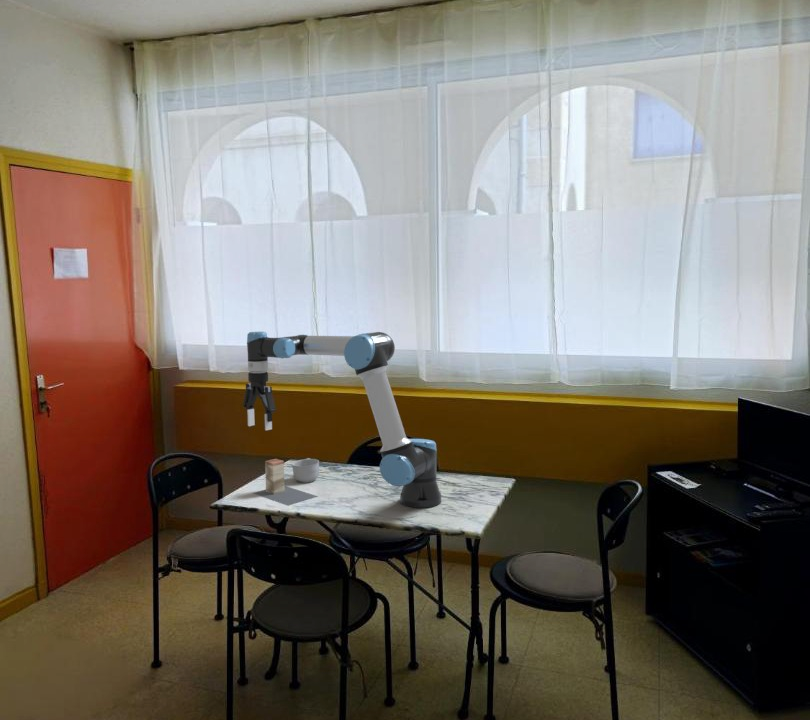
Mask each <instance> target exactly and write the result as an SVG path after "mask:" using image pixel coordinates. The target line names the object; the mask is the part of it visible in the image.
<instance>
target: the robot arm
mask: <svg viewBox="0 0 810 720" xmlns="http://www.w3.org/2000/svg"><path fill="white" fill-rule="evenodd" d="M246 337H247V338H246V346H247V348H246V349H247V363H248V364H247V369H248V373H247V375H248V376H247V377H248V383H246V384H245V391H244V392H245V393H244V398H243V404H242V407H243V408H245V410H246V416H247V426H248V427H252V426H256V424H255V423H256V422H255V407H254V405H255V403H256V399H257V397H258V398H259V399H260V400H261V403H262V406H263V408H264V411H265V412H264V431H270V430H273V413H275V412H276V411H277V409H276V405H275V401H274V400H275V399H274V396H273V387H272V386H267V382H268V381H269V372H268V371H269V363H268V362H269V361H268V358H277V359H289V358H290V359H291V358H292V357H293V356H297V355H302V356H303V355H305V356H306V355H307V356H309V355H311V356H313V355H314V356H336V357H337V356H340V357H343V358H344V360H345V363H346V364H347V365H348V367H350V368H352V369H354V370H355V371H354V372H355V375H356V377H357V378H359V379H361V380H362V383H363V385H364V390H365V392H366V395H367V398H368V399H367V400H368V401H369V402H368V403H369V405H370V408H371V411H372V415H373V418H374V420H375V424H376V428H377V431H378V434H379V437H380V440H381V443H382V447H381V448H380V450H379V451H380V455H381V457H382V458H381V461H380V463H379V471H380V472H379V473H380V475H381V477H382V478H383V480H384V481H385V482H387V484H390V485H392V486H394V487H402V490H401V492H400V495H399V502H400V503H401V504H402V505H403V506H406V507H410V508H418V509H419V508H420V509H421V508H422V509H423V508H430V507H435V506H438V505H440V504H441V503H442V494H441V492H440V488H439V483H438V482H437V457H438V455H437V453H438V450H437V443H436V442H435V440H431V439H425V438H408V437H407V435H406V432H405V428H404V426H403V422H402V419H401V415H400V413H399V410H398V407H397V404H396V403H397V402H396V401H395V397H394V394H393V392H392V391H393V390H392V388H391V385H390V382H389V378H388V375H387V370H388V368H389V363H388V362H389V361H390V360H391V359H392V357H393V356H394V353H395V350H396V349H395V348H396V347H395V342H394V340H393V338H391V336H390V335H389V334H387V333H385V332H381V331H375V332H367V333H360V334H359V333H358V334H357V335H353V336H351V335H308V334H297V335H291V336H283V337H268V334H267V332H266V331H250V332H247V336H246Z"/></svg>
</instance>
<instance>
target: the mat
mask: <svg viewBox="0 0 810 720" xmlns="http://www.w3.org/2000/svg"><path fill="white" fill-rule="evenodd" d="M284 488H285V491H284V492H280V493H277V494H271V493H268V492H266V488H265V489H262V490H258V491H255V492H252V494H254V495H256V496H259V497H262V498H264V499H265V498H266V499H267V500H271V501H274V502H277V503H279V504H282V505H284V506H285V505H286V506H291V505H295V504H298V503H301V502H305V501H307V500H312V499H314V498H318V496H319V495H315V494H311V493H309V492H306V491H303V490H299V489H296V488H293V487H290V486H287V485H284Z"/></svg>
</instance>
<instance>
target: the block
mask: <svg viewBox="0 0 810 720" xmlns="http://www.w3.org/2000/svg"><path fill="white" fill-rule="evenodd" d="M264 463H265V465H264V468H265V469H264V470H265V489H266V492H268V493H271V494H277V493H280V492H284V491H285V488H284V486H285V464H284V463H285V461H284V460H281V459H278V458H274V459H269V460H265V461H264Z"/></svg>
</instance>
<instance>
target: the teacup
mask: <svg viewBox="0 0 810 720" xmlns="http://www.w3.org/2000/svg"><path fill="white" fill-rule="evenodd" d="M291 466H292V473H293V478H294V480H296V481H297V482H299V483H304V484H305V483H313V482H315V481H316V480H317V479H318V478H319V476H320V460H319V459H316V458H309V457H308V458H307V457H306V458H305V459H303V458H302V459H299V460H295V461H293V462H292V463H291Z"/></svg>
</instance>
